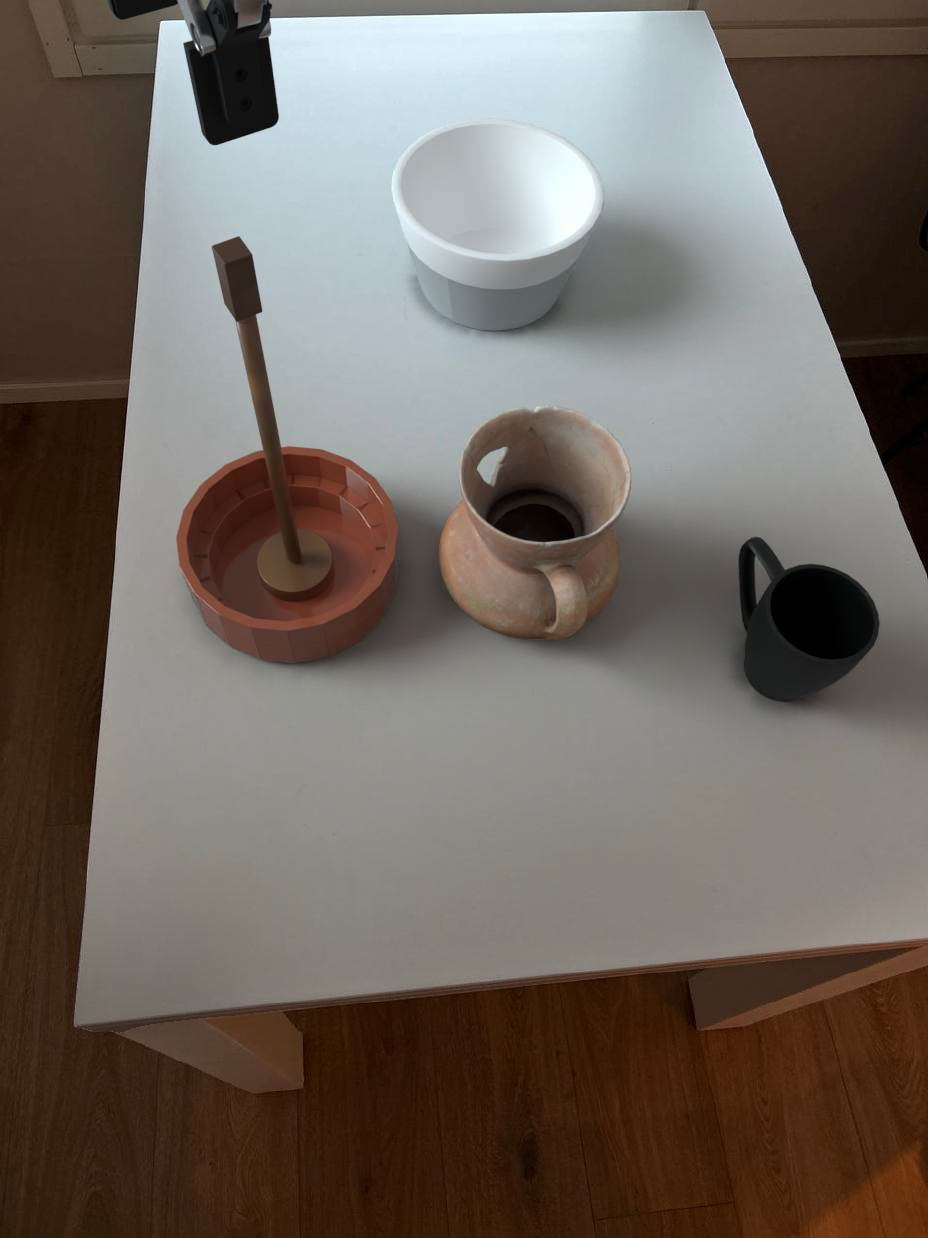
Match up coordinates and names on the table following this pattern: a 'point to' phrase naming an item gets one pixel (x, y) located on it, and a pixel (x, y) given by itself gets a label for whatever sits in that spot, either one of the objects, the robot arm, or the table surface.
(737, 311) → the table surface
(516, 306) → the bowl
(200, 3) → the robot arm
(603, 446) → the ceramic jug
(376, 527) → the mixing bowl
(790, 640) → the mug
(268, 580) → the wooden dowel plunger
